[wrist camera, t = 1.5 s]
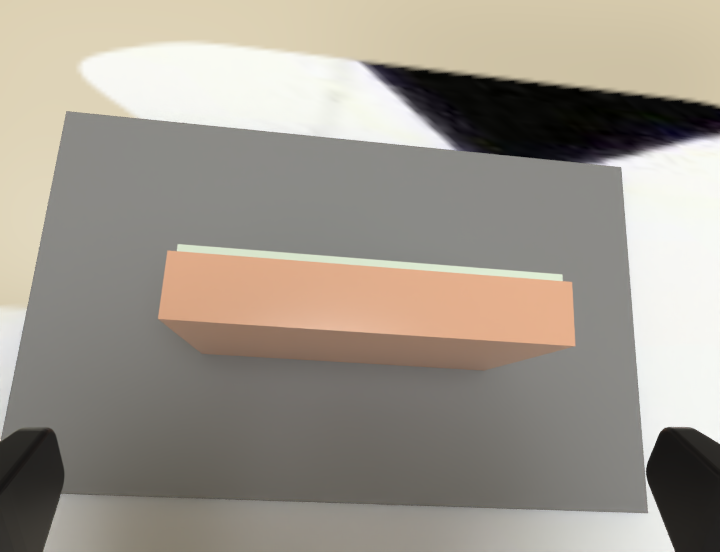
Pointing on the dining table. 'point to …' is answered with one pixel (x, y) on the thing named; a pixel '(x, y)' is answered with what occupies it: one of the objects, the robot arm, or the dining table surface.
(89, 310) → the mat
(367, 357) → the tile
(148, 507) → the dining table surface
